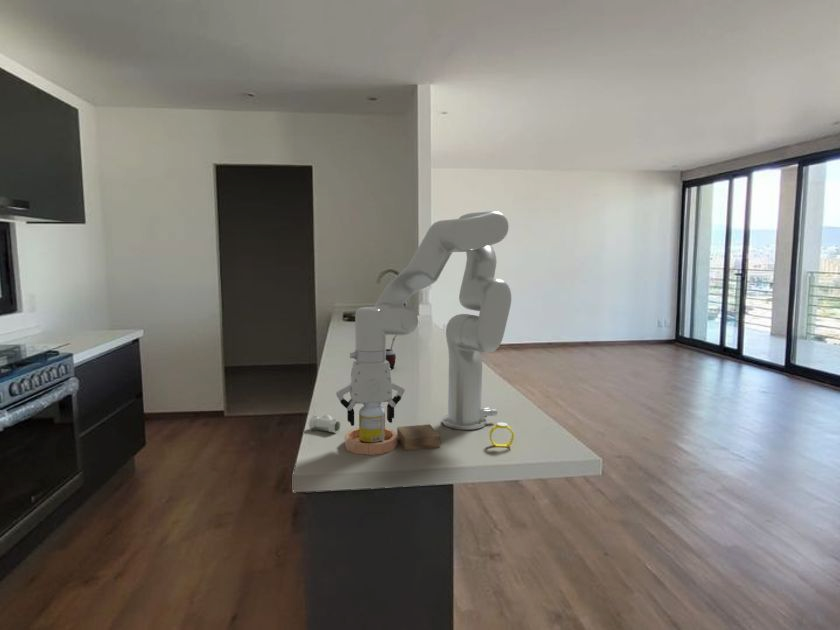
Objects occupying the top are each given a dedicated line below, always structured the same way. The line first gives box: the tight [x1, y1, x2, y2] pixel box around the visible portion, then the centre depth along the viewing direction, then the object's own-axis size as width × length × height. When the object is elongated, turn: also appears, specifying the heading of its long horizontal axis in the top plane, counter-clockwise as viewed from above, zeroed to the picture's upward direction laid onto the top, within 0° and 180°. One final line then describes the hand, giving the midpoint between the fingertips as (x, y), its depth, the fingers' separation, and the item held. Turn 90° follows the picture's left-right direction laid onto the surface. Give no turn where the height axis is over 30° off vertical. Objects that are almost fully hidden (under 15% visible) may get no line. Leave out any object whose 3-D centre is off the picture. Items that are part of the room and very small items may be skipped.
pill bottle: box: [358, 402, 386, 443], centre depth 129 cm, size 6×6×12 cm
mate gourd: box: [386, 335, 398, 370], centre depth 216 cm, size 8×8×15 cm
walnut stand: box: [396, 423, 441, 452], centre depth 131 cm, size 9×9×3 cm
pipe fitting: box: [308, 414, 341, 434], centre depth 141 cm, size 8×4×7 cm
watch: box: [489, 421, 515, 448], centre depth 129 cm, size 6×3×6 cm, turn 86°
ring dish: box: [344, 427, 398, 456], centre depth 129 cm, size 13×13×2 cm
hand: (371, 422), depth 129 cm, fingers open, 9 cm apart
